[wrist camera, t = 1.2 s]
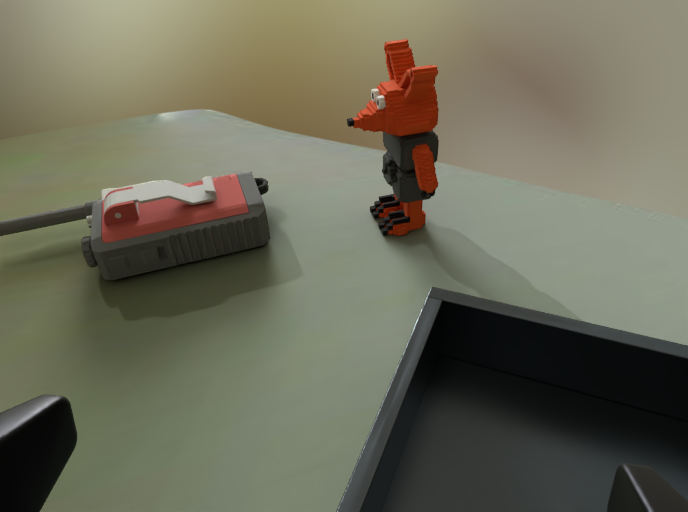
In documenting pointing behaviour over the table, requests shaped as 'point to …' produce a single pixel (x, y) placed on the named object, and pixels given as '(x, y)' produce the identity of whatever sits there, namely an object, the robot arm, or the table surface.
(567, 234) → the table surface
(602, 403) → the tray
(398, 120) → the toy animal
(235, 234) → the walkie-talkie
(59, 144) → the table surface
